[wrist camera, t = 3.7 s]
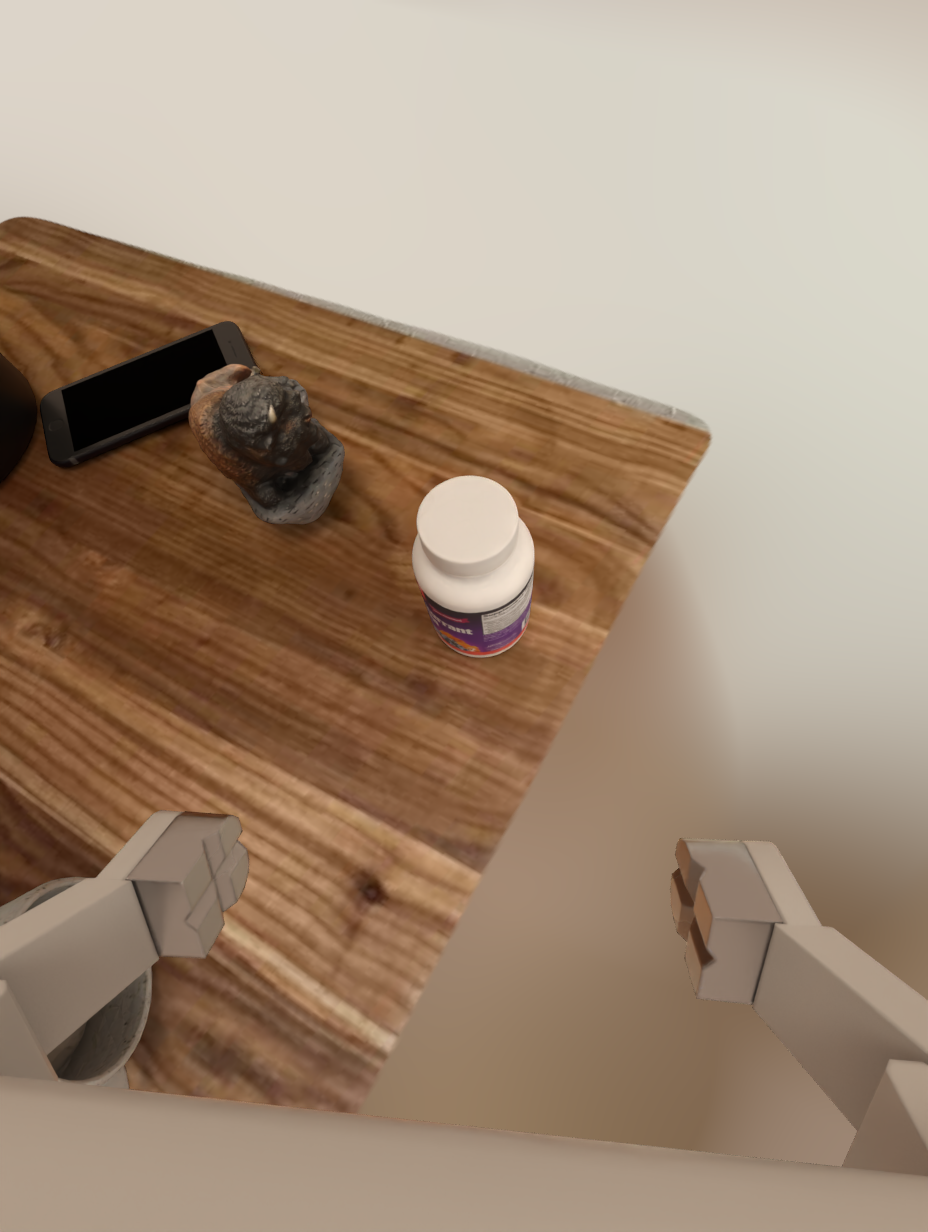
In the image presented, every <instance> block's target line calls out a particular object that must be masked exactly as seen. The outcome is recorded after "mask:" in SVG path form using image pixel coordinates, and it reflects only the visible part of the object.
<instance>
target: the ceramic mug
mask: <svg viewBox="0 0 928 1232" xmlns="http://www.w3.org/2000/svg"><path fill="white" fill-rule="evenodd" d="M84 879H86V878H84V877H70V878H61V879H57V880H52V881H49V882H47V883H44V884H42V885H40V886H38V887H36V888H35V889H33V890H31V891H29V892H27V893H25V894H24V895H22V896H20V897H18V898H16V899H14V900H13V901H11V902H9V903H7V904H5V905H3V906H1V907H0V926H2V925H4V924H6V923H7V922H9V921H11V920H13V919H15V918H16V917H18V916H20V915H22V914H24V913H25V912H27V911H29V910H31V909H32V908H34V907H36V906H38V905H40V904H41V903H43V902H45V901H47V900H49V899H50V898H52V897H54V896H56V895H58V894H59V893H61V892H63V891H65V890H67V889H68V888H70V887H72V886H74V885H75V884H77V883H79V882H81V881H83V880H84ZM151 997H152V968H151V967H149V968H148V969H147V970H146V971H145V972H144V973H142V974H141V975H140V976H139V977H138V978H137V979H135V980H134V981H133V982H132V983H131V984H130V985H128V986H127V987H126V988H125V989H124V990H123V991H121V992H120V993H119V994H118V995H117V996H116V997H114V998H113V999H112V1000H111V1001H110V1002H109V1003H107V1004H106V1005H105V1006H104V1007H103V1008H101V1009H100V1010H99V1011H98V1012H97V1013H96V1014H94V1015H93V1016H92V1017H91V1018H90V1019H89V1020H87V1021H86V1022H85V1023H84V1024H83V1025H82V1026H80V1027H79V1028H78V1029H77V1030H76V1031H75V1032H73V1033H72V1034H71V1035H70V1036H69V1037H68V1038H66V1039H65V1040H64V1041H63V1042H62V1043H61V1044H59V1045H58V1046H57V1047H56V1048H55V1049H54V1050H52V1051H51V1052H50V1053H49V1054H48V1055H47V1058H48V1060H49V1061H50V1063H51V1065H52V1067H53V1069H54V1071H55V1073H56V1075H57V1076H58V1082H67V1083H77V1084H86V1085H95V1086H104V1087H113V1088H122V1089H129V1083H128V1077H127V1071H126V1068H125V1064H126V1062H127V1061H128V1060H129V1058H130V1056H131V1055H132V1053H133V1052H134V1050H135V1048H136V1046H137V1044H138V1043H139V1041H140V1039H141V1036H142V1033H143V1031H144V1028H145V1025H146V1023H147V1018H148V1013H149V1009H150V1004H151Z"/></svg>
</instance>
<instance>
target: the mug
mask: <svg viewBox="0 0 928 1232" xmlns="http://www.w3.org/2000/svg"><path fill="white" fill-rule="evenodd" d="M36 415H37V408H36V401H35V397H34V395H33V392H32V390H31V387H30V385H29V383H28V381H27V380H26V378H25V377H24V376H23V374H22V373H21V372H20V371H19V370H18V369H16V368H15V367H14V366H13V365H12V364H11V363H10V362H9V361H8V360H7V359H6V358H5V357H4V356H3V355H2V354H1V353H0V482H1V481H2V480H3V479H4V478H5V477H6V476H7V475H8V474H9V472H10V471H11V470H12V469H13V468H14V466H15V465H16V464H17V463H18V461H19V460H20V458H21V456H22V455H23V453H24V452H25V450H26V448H27V446H28V444H29V442H30V439H31V437H32V435H33V431H34V427H35V423H36Z"/></svg>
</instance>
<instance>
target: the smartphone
mask: <svg viewBox="0 0 928 1232" xmlns="http://www.w3.org/2000/svg"><path fill="white" fill-rule="evenodd" d="M230 364H240V365H244V366H247V367H248V368H249V369H252V367H253V366H255V367H257V366H256V364H255V362H254V359H253V357H252V355H251V353H250V350H249V348H248V346H247V344H246V342H245V339H244V337H243V335H242V333H241V331H240V329H239V327H238V326H237V325H236V324H235V323H233V322H230V321H225V322H221V323H219V324H216V325H213V326H211V327H209V328H206V329H204V330H201V331H199V332H196V333H194V334H191V335H189V336H186V337H184V338H181V339H179V340H177V341H174V342H172V343H169V344H167V345H164V346H162V347H159V348H157V349H154V350H152V351H149V352H147V353H145V354H142V355H140V356H137V357H135V358H132V359H130V360H127V361H125V362H122V363H120V364H117V365H115V366H113V367H110V368H108V369H105V370H103V371H100V372H98V373H95V374H93V375H90V376H88V377H85V378H83V379H81V380H78V381H76V382H73V383H71V384H68V385H66V386H63V387H61V388H58V389H56V390H54V391H52V392H50V393H48V394H47V395H45V396H44V398H43V399H42V401H41V404H40V412H41V418H42V423H43V429H44V434H45V439H46V445H47V450H48V455H49V458H50V460H51V462H52V463H53V464H55V465H56V466H59V467H70V466H73V465H75V464H78V463H80V462H83V461H85V460H88V459H90V458H92V457H95V456H97V455H99V454H102V453H104V452H107V451H109V450H111V449H114V448H116V447H119V446H121V445H123V444H126V443H128V442H130V441H133V440H135V439H137V438H140V437H142V436H145V435H147V434H149V433H152V432H154V431H156V430H159V429H161V428H164V427H166V426H168V425H171V424H173V423H175V422H178V421H180V420H183V419H185V418H187V417H189V411H190V408H191V397H192V395H193V392H194V390H195V388H196V384H197V382H198V380H200V379H203V378H204V377H205V376H206V375H207V374H209V373H212V372H214V371H217V370H220V369H222V368H223V367H225V366H227V365H230ZM259 374H260V373H259Z"/></svg>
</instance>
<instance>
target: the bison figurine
mask: <svg viewBox="0 0 928 1232" xmlns="http://www.w3.org/2000/svg"><path fill="white" fill-rule="evenodd" d="M259 372H260V369H259V368H258V367H255V366H253V367H252V369H249V368H248V367H247V366H244V365H240V364H230V365H227V366H225V367H223V368H222V369H220V370H217V371H214V372H212V373H209V374H207V375H206V376H205V377H204V378H203V379H200V380H198V382H197V384H196V388H195V390H194V392H193V395H192V397H191V408H190V411H189V424H190V427H191V429H192V432H193V434H194V436H195V437H196V439H197V440H198V442H199V444H200V447H201V449H202V451H203V452H204V453H205V454H206V455H207V456H208V458H209V459H210V460H211V462H212V463H213V464H215V465H216V467H217V468H218V469H219V470H220V471H221V472H222V473H223V474H224V476H226V477H227V478H229V479H232V480H233V481H234V482H235V484H236V485H237V486H238V487H239V488H240V489H241V491H242V493H243V495H244V496H245V498H246V499H247V500H248V502H249V504H250V505H251V507H252V510H253V511H254V513H255V514H256V516H257V517H258V518H260V519H261V520H263V521H265V522H268V523H272V524H285V523H286V524H307V523H311V522H313V521H315V520H316V519H318V518H319V517H320V516H321V515H322V514H323V513H324V511H325V510H326V508H327V507H328V505H329V502H330V500H331V497H332V495H333V493H334V492H335V490H336V488H337V486H338V484H339V481H340V478H341V473H342V470H343V461H344V455H345V452H344V447H343V445H342V443H341V442H340V441H339V440H338V439H337V438H336V437H335V436H334V435H333V434H331V433H330V432H328V431H327V430H326V429H325V428H324V427H323V426H321V425H320V424H319V422H318V421H317V420H316V419H315V418H311V417H312V413H311V410H310V407H309V404H308V396H307V393H306V390H305V389H304V388H303V387H302V386H301V385H300V384H299V383H298V382H297V381H296V380H292V379H291V380H289V378H288V377H285V376H281V377H266V376H262V375H260V374H259Z"/></svg>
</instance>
